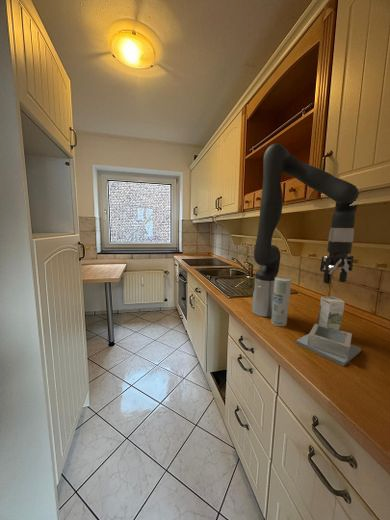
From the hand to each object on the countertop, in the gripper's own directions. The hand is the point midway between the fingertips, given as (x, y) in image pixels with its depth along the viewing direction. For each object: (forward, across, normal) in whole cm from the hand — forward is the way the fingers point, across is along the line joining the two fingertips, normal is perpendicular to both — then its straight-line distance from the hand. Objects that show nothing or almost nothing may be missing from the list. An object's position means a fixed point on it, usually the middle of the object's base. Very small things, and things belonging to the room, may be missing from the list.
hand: (334, 282), depth 80 cm
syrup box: (+21, 0, 0) cm, 21 cm away
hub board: (+21, +10, +8) cm, 24 cm away
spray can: (+21, +13, -13) cm, 28 cm away
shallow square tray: (+20, +10, +8) cm, 23 cm away
